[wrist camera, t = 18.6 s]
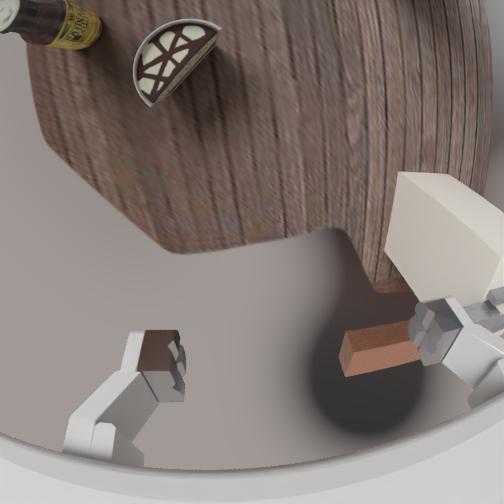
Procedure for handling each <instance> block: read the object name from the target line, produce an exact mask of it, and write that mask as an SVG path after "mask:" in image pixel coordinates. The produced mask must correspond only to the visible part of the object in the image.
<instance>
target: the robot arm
mask: <svg viewBox="0 0 504 504" xmlns="http://www.w3.org/2000/svg"><path fill="white" fill-rule="evenodd" d="M415 313H416V314H415V315H414V316H413V317H412V318H411V320H410V322H409V325H408V334H409V337H410V340H411V342H412V344H414V345H416V346H417V347H418V351H417V353H418V355H419V357H420V359H421V361H422V363H423V364H424V366H427V365H431V364H434V363H438V362H441V361H442V363H443V364H444V365H445V366H447V367H448V368H449V369H451V371H453V372H454V373H455V374H456V375H458V376H459V377H460V378H461V379H462V380H464V381H465V382H466V383H467V384H468V385H469V386H471V387H472V388H473V389H474V391H473V392H472V393H471V395H470V396H469V397H468V399H467V401H468V404H469V406H470V408H471V410H469V411H467V412H465V413H462V414H460V415H458V416H456V417H454V418H451V419H449V420H447V421H445V422H442V423H440V424H438V425H435V426H432V427H430V428H427V429H425V430H422V431H420V432H417V433H414V434H411V435H409V436H406V437H403V438H400V439H397V440H394V441H391V442H387V443H384V444H381V445H377V446H374V447H370V448H367V449H363V450H360V451H355V452H351V453H347V454H343V455H338V456H333V457H329V458H324V459H319V460H313V461H308V462H301V463H294V464H287V465H279V466H270V467H260V468H249V469H229V470H180V469H163V468H150V467H144V455H143V453H142V452H141V451H140V450H139V449H138V448H136V447H135V446H134V445H133V444H132V443H131V442H132V441H133V439H134V438H135V437H136V435H137V434H138V432H139V431H140V429H141V428H142V427H143V425H144V424H145V422H146V421H147V420H148V419H149V417H150V416H151V414H152V413H153V412H154V410H155V409H156V407H157V406H158V405H159V403H158V402H184V394H185V383H184V381H183V378H182V377H183V376H184V375H185V374H186V356H185V351H184V347H183V346H182V345H180V335H179V332H178V330H132V331H131V333H130V334H129V337H128V341H127V345H126V349H125V353H124V357H123V361H122V365H121V369H120V371H115V372H114V373H113V374H112V375H111V376H110V377H109V378H108V379H107V380H106V381H105V382H104V383H103V384H102V385H101V386H100V387H99V388H98V389H97V390H96V391H95V392H94V393H93V394H92V395H91V396H90V397H89V398H88V399H87V400H86V401H85V402H84V403H83V404H82V405H81V406H80V407H79V408H78V409H77V410H76V411H75V412H74V413H73V414H72V415H71V416H70V420H69V424H68V428H67V433H66V437H65V441H64V446H63V451H62V452H58V451H54V450H51V449H47V448H44V447H41V446H37V445H34V444H31V443H27V442H25V441H22V440H19V439H16V438H13V437H10V436H8V435H5V434H3V433H0V504H504V339H502V338H500V337H499V336H497V335H496V334H494V333H492V332H490V331H489V330H487V329H485V328H484V327H482V326H480V325H479V324H474V323H473V322H472V320H471V319H470V317H469V316H468V315H467V313H466V312H465V311H464V309H463V308H462V306H461V305H460V304H459V302H458V301H457V300H456V298H455V297H453V296H452V295H450V296H445V297H441V298H435V299H431V300H426V301H421V302H419V303H418V304H417V305H416V307H415Z"/></svg>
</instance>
